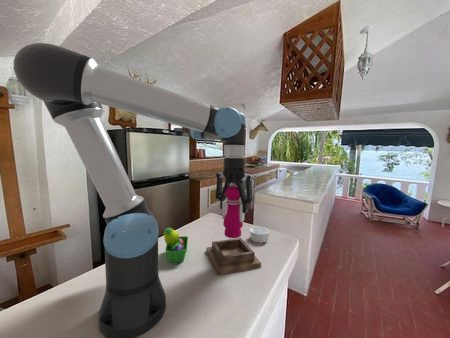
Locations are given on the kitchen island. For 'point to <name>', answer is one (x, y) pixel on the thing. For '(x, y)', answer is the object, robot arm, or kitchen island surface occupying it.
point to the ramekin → (259, 234)
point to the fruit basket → (175, 245)
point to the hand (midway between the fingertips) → (233, 219)
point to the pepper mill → (232, 213)
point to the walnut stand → (232, 256)
